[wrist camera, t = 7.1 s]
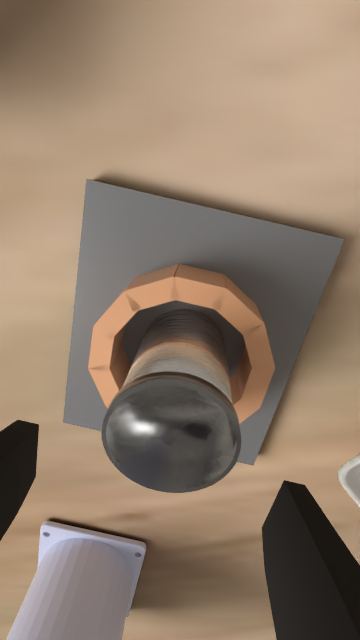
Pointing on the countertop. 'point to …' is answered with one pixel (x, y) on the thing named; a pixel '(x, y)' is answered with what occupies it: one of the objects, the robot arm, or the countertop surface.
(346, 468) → the square plate
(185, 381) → the silver metal cylinder
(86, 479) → the countertop surface
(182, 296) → the duct flange
